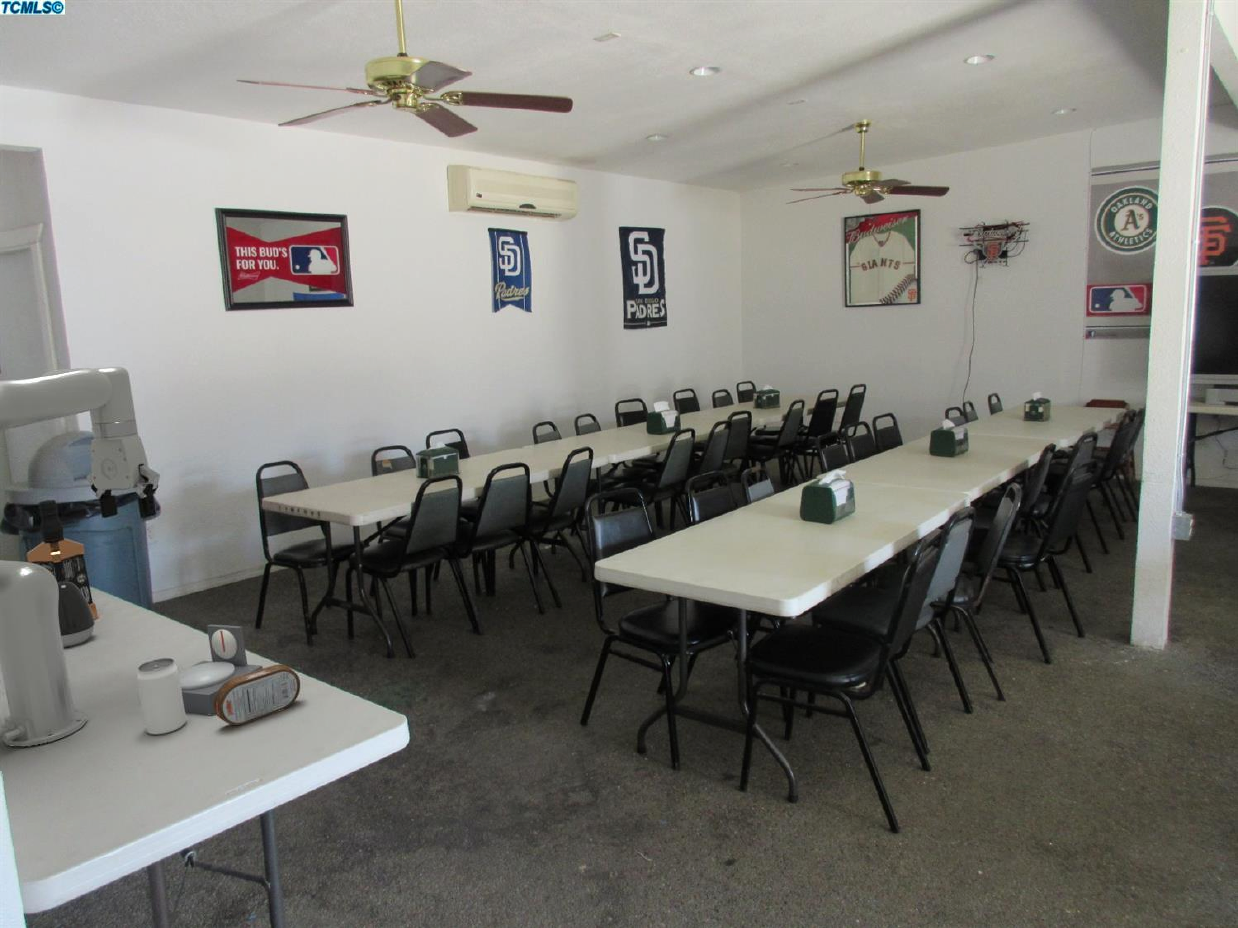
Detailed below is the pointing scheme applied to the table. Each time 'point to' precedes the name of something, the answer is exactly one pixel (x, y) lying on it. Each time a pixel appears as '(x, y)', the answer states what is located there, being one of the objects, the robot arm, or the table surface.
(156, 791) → the table surface
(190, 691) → the scale
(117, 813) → the table surface
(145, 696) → the can
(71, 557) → the whiskey bottle
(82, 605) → the pump dispenser
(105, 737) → the table surface
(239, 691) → the tin
